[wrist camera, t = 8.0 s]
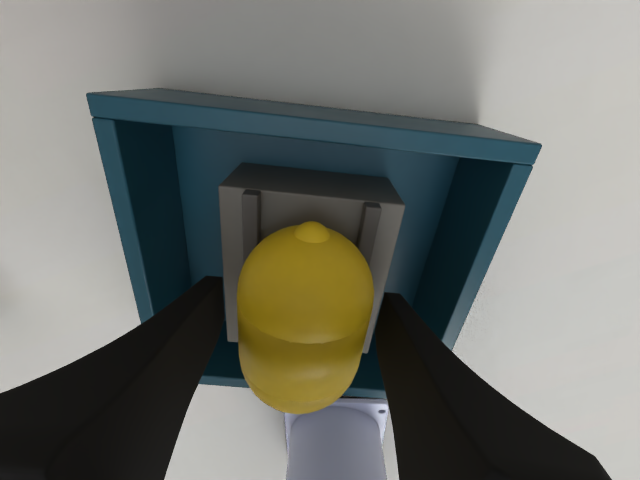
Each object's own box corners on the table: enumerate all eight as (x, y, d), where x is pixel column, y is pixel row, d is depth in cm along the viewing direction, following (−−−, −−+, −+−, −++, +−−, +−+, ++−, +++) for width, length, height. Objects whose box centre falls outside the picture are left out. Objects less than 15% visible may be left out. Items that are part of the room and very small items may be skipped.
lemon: (343, 347, 15) (357, 447, 11) (249, 344, 15) (228, 446, 11) (372, 201, 11) (410, 271, 7) (248, 191, 11) (215, 258, 7)
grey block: (360, 307, 18) (369, 364, 14) (243, 296, 18) (223, 351, 14) (389, 177, 14) (410, 211, 11) (240, 161, 14) (211, 191, 10)
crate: (408, 337, 20) (429, 403, 16) (189, 318, 20) (154, 381, 15) (479, 124, 14) (543, 144, 10) (158, 88, 13) (84, 92, 9)
